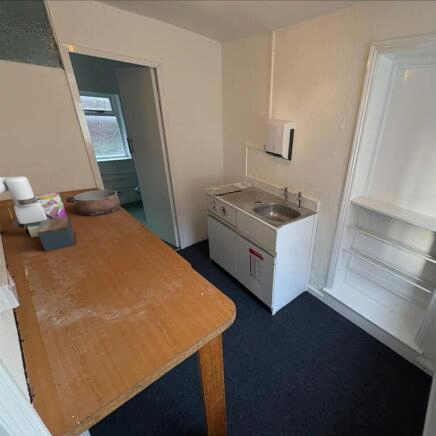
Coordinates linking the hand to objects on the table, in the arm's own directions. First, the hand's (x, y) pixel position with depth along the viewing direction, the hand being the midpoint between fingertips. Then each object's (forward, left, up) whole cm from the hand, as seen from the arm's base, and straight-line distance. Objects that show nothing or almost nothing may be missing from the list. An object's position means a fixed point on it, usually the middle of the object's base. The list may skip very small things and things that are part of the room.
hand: (39, 232), depth 124 cm
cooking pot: (+27, +25, -1) cm, 37 cm away
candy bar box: (+5, +17, -1) cm, 18 cm away
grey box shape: (+9, -16, -1) cm, 18 cm away
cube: (0, 0, -1) cm, 1 cm away
